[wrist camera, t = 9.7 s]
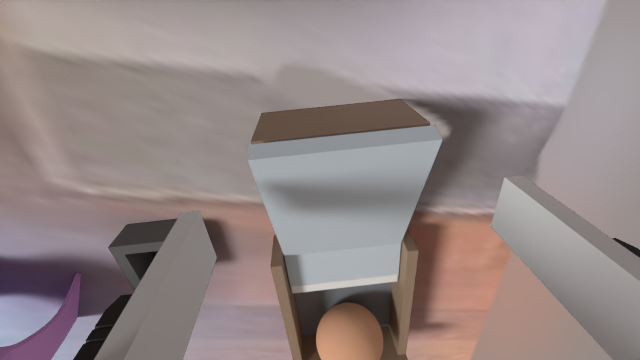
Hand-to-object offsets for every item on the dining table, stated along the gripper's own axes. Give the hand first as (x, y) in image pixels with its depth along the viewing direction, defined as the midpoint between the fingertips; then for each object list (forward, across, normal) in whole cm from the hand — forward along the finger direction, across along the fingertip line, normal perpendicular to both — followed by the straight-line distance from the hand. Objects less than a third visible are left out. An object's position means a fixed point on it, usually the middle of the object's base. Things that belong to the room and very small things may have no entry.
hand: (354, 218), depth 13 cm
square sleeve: (+8, -14, -7) cm, 18 cm away
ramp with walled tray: (+8, 0, -9) cm, 12 cm away
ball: (+7, 0, -16) cm, 18 cm away
